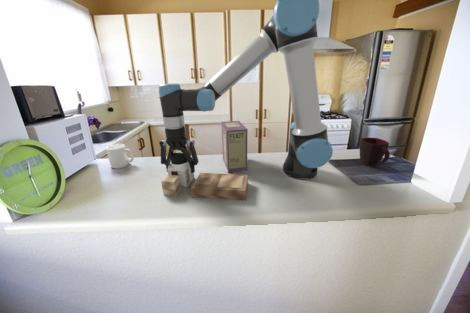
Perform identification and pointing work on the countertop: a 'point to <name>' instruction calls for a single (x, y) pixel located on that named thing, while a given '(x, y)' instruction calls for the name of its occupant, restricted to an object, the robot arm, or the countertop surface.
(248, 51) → the robot arm
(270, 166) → the countertop surface
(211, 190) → the base board
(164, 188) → the oak cube
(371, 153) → the mug
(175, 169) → the container
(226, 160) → the box
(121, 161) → the cup
